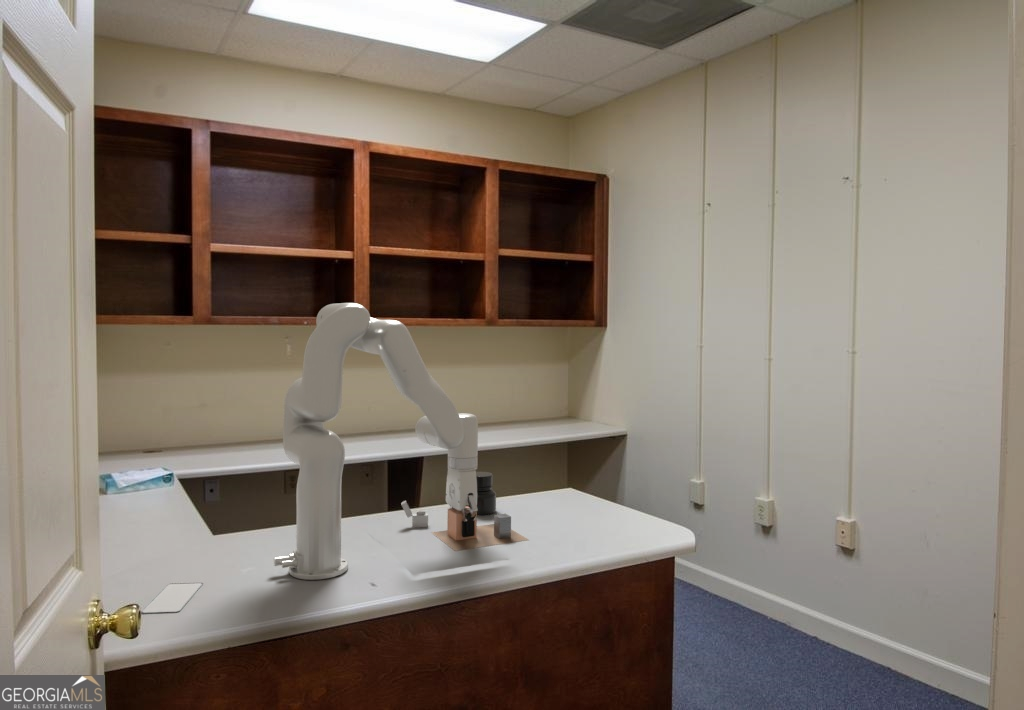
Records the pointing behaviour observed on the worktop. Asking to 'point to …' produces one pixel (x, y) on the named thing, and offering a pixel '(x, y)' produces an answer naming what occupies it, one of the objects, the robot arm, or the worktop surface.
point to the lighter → (416, 516)
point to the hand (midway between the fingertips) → (461, 531)
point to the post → (502, 526)
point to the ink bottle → (485, 494)
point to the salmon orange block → (457, 524)
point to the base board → (478, 539)
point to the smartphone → (172, 598)
